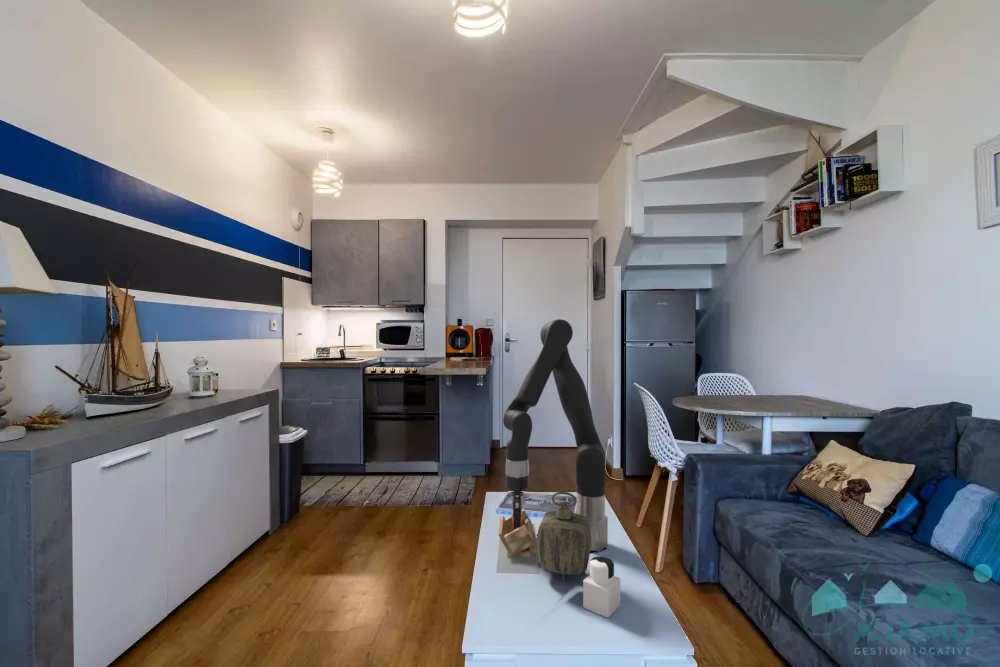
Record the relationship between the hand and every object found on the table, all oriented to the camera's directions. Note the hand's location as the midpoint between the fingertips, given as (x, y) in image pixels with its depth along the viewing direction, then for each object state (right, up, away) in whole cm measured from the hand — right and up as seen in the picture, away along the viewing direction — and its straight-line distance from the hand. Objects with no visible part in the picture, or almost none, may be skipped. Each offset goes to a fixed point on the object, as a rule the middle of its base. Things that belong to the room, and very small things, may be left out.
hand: (517, 525), depth 148 cm
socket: (+1, -7, 0) cm, 7 cm away
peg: (0, -2, 0) cm, 2 cm away
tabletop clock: (+13, -8, -18) cm, 23 cm away
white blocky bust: (+21, -9, -30) cm, 37 cm away
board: (0, -8, -4) cm, 9 cm away
